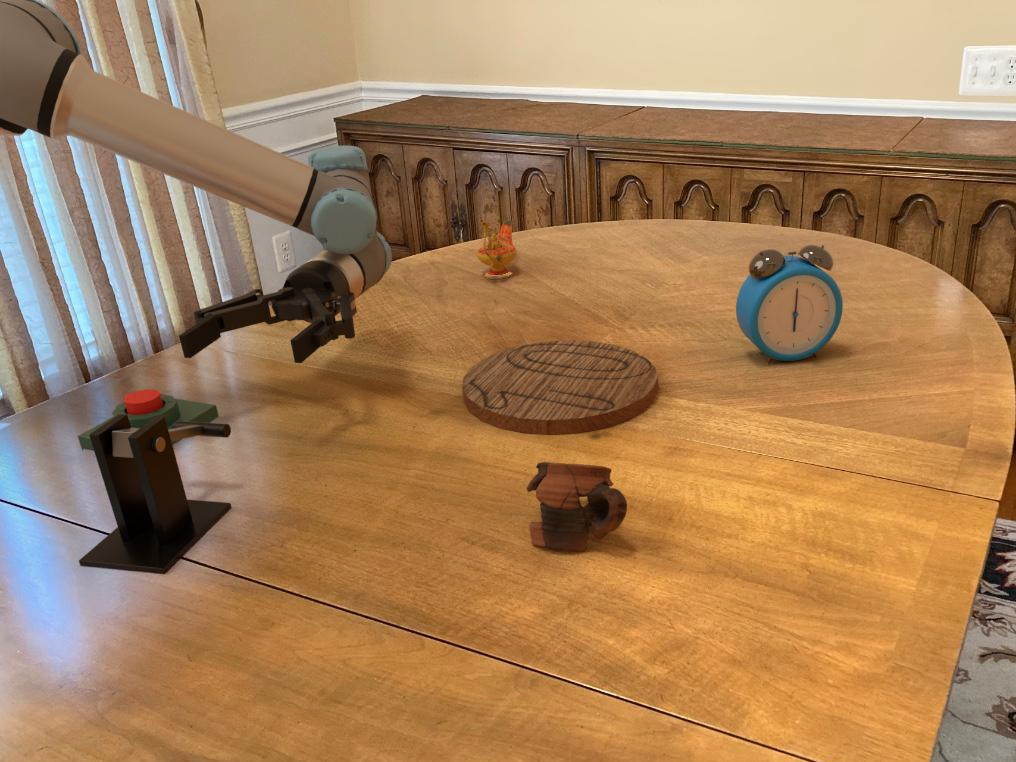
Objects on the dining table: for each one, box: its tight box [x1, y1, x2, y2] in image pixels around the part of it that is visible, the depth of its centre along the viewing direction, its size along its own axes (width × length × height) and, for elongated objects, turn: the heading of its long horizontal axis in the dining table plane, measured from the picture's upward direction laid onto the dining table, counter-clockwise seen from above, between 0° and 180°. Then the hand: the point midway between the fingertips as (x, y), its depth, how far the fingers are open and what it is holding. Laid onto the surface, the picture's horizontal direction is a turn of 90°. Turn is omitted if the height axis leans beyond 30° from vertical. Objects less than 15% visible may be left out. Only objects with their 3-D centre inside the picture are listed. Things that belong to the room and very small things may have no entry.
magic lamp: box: [476, 220, 517, 280], centre depth 169 cm, size 7×18×11 cm, turn 171°
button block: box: [77, 393, 220, 451], centre depth 117 cm, size 10×12×4 cm
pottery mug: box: [526, 461, 628, 552], centre depth 95 cm, size 12×10×8 cm
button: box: [123, 388, 164, 415], centre depth 116 cm, size 4×4×2 cm
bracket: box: [78, 414, 232, 575], centre depth 94 cm, size 12×9×13 cm
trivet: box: [461, 339, 659, 436], centre depth 126 cm, size 25×25×2 cm
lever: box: [112, 421, 232, 458], centre depth 97 cm, size 13×6×2 cm, turn 169°
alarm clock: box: [735, 244, 844, 365], centre depth 130 cm, size 13×6×15 cm, turn 103°
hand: (239, 349), depth 109 cm, fingers open, 13 cm apart
